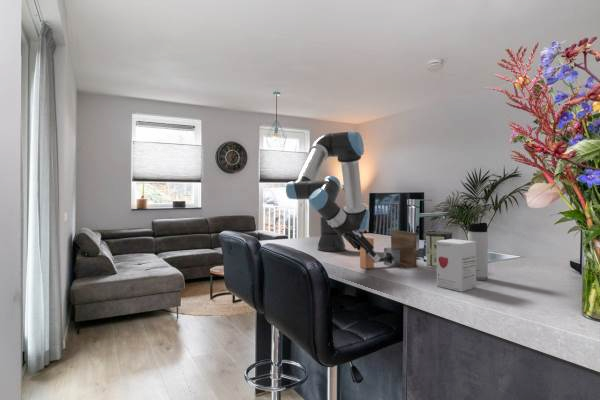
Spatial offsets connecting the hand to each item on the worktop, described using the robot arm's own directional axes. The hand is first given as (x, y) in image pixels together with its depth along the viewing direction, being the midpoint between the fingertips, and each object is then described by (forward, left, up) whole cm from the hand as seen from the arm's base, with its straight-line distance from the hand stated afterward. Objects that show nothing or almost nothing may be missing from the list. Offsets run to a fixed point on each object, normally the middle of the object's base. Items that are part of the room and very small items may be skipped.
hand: (374, 259), depth 149 cm
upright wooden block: (-1, +1, -3) cm, 3 cm away
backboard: (-11, +8, -3) cm, 14 cm away
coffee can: (-14, +23, -3) cm, 27 cm away
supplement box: (+18, +34, -3) cm, 38 cm away
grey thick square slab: (-7, +5, -3) cm, 9 cm away
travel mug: (+2, +39, -3) cm, 39 cm away
